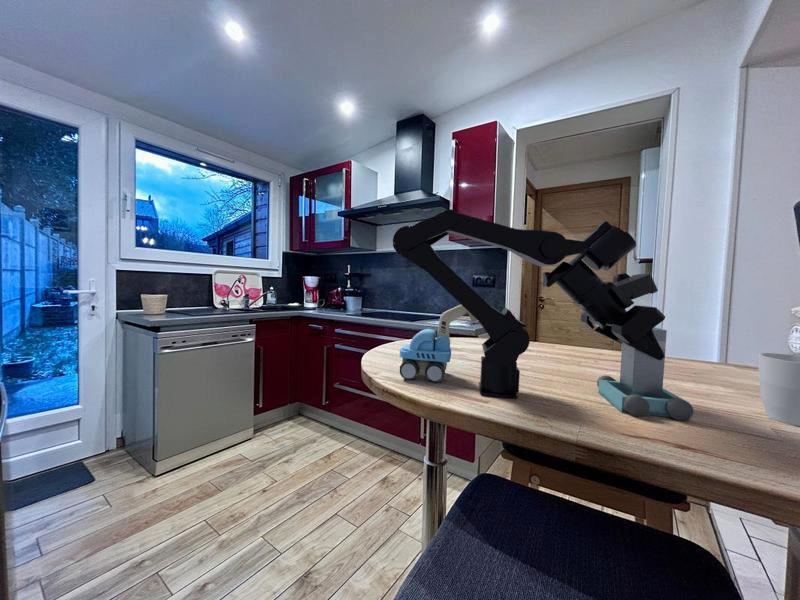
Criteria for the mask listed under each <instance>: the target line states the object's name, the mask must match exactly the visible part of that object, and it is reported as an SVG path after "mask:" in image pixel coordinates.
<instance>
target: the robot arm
mask: <svg viewBox="0 0 800 600" xmlns="http://www.w3.org/2000/svg"><path fill="white" fill-rule="evenodd" d="M451 234H452V235H455V236H458V237H462V238H465V239H469V240H473V241H477V242H480V243H482V244H486V245H489V246H494V247H497V248H501V249H502V250H506V251H509V252H511V253H513V254H514V255H516V256H518V257H519V258H520V259H523V260H525V261H527V262H529V263H531V264H533V265H535V266H538V267H548V266H553V265H556V264H558V265H557V266H556V267H555V268H554V269H553V270H551V271H549V272H548V271H544V272H542V278H543V279H542V283H541V285H542V287H543V288H551V287H552V286H553V285H554V284H556V285H557V286H558V287H560V289H562V291H563V292H564V293H565V294H566V295H567V296H569V298H570V299H571V300H572V304H573V305H574V306H575V307H576V308H580V310H582V311H583V313H582V314H580V315H581V316H580V322H581V323H582V324H583V325H584V326H585V328H588V329H590V330H593V329H594V332H595V333H597V334H600V335H601V336H604V337H606V338H608V339H610V340H612V341H615V342H617V343H619V344H620V345H622V343H624V344H626V345H628V346H631V347H633V348H635V349H637V350H639V351H641V352H643V353H645V354H647V355H649V356H651V357H653V358H655V359H657V360H662V359H663V358H664V357H665V358H666V354H665V355H664V353H663V351H662V349H661V347H660V345H659V343H658V342H657V340H656V338H655V335H654V333H653V328H654V327H655V328H656V327H657V326H658V325H659V324H661V323H662V322H664V321H665V319H666V316H665V315H664V314H663V312H661V310H660V309H658V308H657V307H655V306H647V305H634V304H635V301H633V300H635V299H638V298H640V297H643V296H646V295H649V294H651V295H652V294H655V293H657V292H659V289H658V287H657V285H656V282H655V280H654V278H653V277H652V274H651V273H649V272H648V273H638V274H633V275H629V274H628V273H625V272H621V273H619V274H615V275H613V278H612V281H604V280H603V279H602V278H601V277H600V276H599V275H598V274H596V272H595V271H599V270H604V271H609V270H610V269H611V268H612V267H614V266H615V265H617V264H618V263H619V262H620V261H621V260H622V259H623V258H625V257H626V256H627V255H628V254H629V253H631V252H632V251H633V250H635V249H636V247H637V242H636V240H635V239H634V237H633V235H631V234H630V233H629V232H628V231H624V230H623V229H622V228H620V227H618V226H615V225H613V224H611V223H609V222H608V221H606V220H604V221H603V222H601V223H600V224H598V225H597V226H596V227H595V228H594V229H593V231H592V232H591V233H590V234H589V235H587V236H586V237H585V238H584V239H583V240H579V239H578V240H577V239H568V238H566V237H565V236H564V235H563V234H561V233H559V232H557V231H550V230H541V229H520V228H514V227H510V226H507V225H503V224H499V223H497V222H493V221H489V220H486V219H482V218H479V217H475V216H472V215H468V214H464V213H461V212H458V211H456V210H454V209H450V208H448V209H444V210H443V211H441V212H440V213H437V214H436V215H434V216H431V217H429V218H426V219H424V220H421V221H419V222H417V223H416V224H414V225H404V226H402V227H400V228H398V229H396V231H395V233H394V235H393V237H392V247H393V249H394V251H395V252H396V253H397V254H398V255H400V256H402V257H403V258H405V259H406V260H408V261H409V262H410V263H412V264H413V265H415V266H417V267H419V269H420V268H421V269H422V270H423V271H424V272H427V273H428V275H429V276H430V277H432V279H434V280H435V282H437V283H438V284H439V285H440V286H441V288H443V289H444V290H445V291H446V292H447V293H448V294H450V295H451V297H452V298H454V299H455V300H456V301H457V302H458V303H459V305H462V306H463V307H464V308H465V309H467V310H468V311H469V312H470V313H471V314H472V315H473V316H474V317H475V318H476V319H477V320H476V321H478V322H479V324H480V325H481V326H482V327H483V329H484V331H485V332H486V334H487V335H488V336H489V337H488V339H486V340H485V341H484V342H483V343H482V344H481V346H482V350H483V354H484V356H480V375H479V376H480V378H479V379H480V380H479V383H478V387H479V388H478V389H479V395H481V396H489V397H490V396H491V397H500V398H510V399H512V398H513V399H517V398H518V394H517V393H519V392H520V372H521V371H520V369H519V367H518V363H517V361H518V358H519V357H520V355H522V354H524V353H525V352H526V350H528V348H529V345H530V335H529V333H528V332H527V330H526V329H525V328H526V327H527V324H526V323H524V322H523V321H521V320H519V319H517V318H516V317H515V315H514V314H513V312H511V310H510V309H508V308H507V307H504V308H503V309H502V310H501V311H499V310H497V308H495V307H493V306H491V305H490V304H489V303H488V302H487V300H485V299H484V298H483V297H482V296H481V295H479V293H477V292H476V290H474V289H473V288H472V287H471V286H470V285H469V284H468V283H467V282H466V281H465V280H464V279H463V278H461V277H460V275H458V274H457V273H456V272H455V271H454V270H453V269H452V268H451V267H449V266H448V264H446V262H445V261H443V259H441V257H440V256H439V255H438V253H437V252H436V251H435V249H434V248H433V245H434V244H436V243H438V242H439V241H441V240H442V239H443V238H446V237H447V236H449V235H451ZM574 255H576V256H575V257H574V258H573V259H572V260H570V261H569V262H566V261H563V260H564V259H565V258H566V257H567V258H568V257H571V256H574ZM559 263H560V264H559ZM594 270H595V271H594ZM633 305H634V306H633ZM631 306H632V307H631ZM630 307H631V308H630ZM627 308H629V309H628V310H626V309H627ZM594 325H595V326H594ZM595 327H596V328H595Z"/></svg>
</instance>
